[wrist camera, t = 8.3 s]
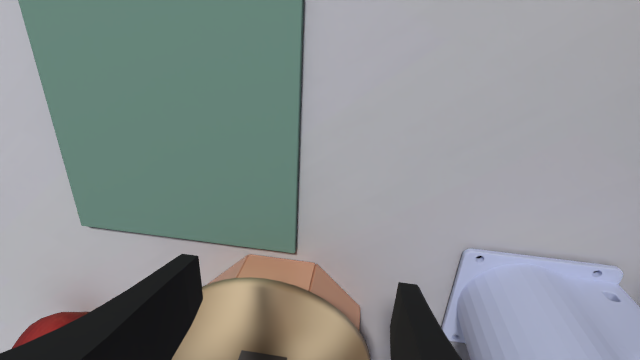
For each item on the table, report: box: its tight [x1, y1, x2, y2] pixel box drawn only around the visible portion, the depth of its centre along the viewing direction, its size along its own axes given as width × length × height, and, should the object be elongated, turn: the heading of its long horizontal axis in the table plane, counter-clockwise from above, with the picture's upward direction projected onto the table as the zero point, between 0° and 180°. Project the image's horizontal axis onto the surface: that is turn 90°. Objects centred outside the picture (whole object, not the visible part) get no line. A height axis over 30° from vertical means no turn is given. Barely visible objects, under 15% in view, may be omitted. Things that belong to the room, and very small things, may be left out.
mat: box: [18, 0, 304, 253], centre depth 22 cm, size 16×16×1 cm
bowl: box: [207, 254, 360, 331], centre depth 26 cm, size 12×12×4 cm
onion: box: [12, 312, 89, 349], centre depth 27 cm, size 6×6×8 cm
